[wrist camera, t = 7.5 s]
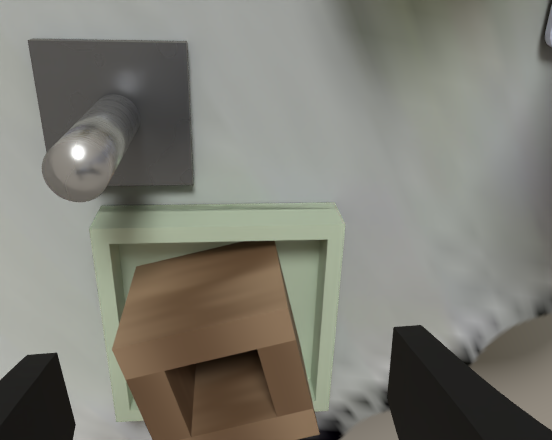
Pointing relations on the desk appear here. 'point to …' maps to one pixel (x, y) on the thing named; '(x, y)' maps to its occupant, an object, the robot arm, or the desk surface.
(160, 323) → the brown wooden block
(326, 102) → the desk surface
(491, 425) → the robot arm
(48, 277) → the desk surface
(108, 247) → the tray
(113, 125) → the grey base with stem
